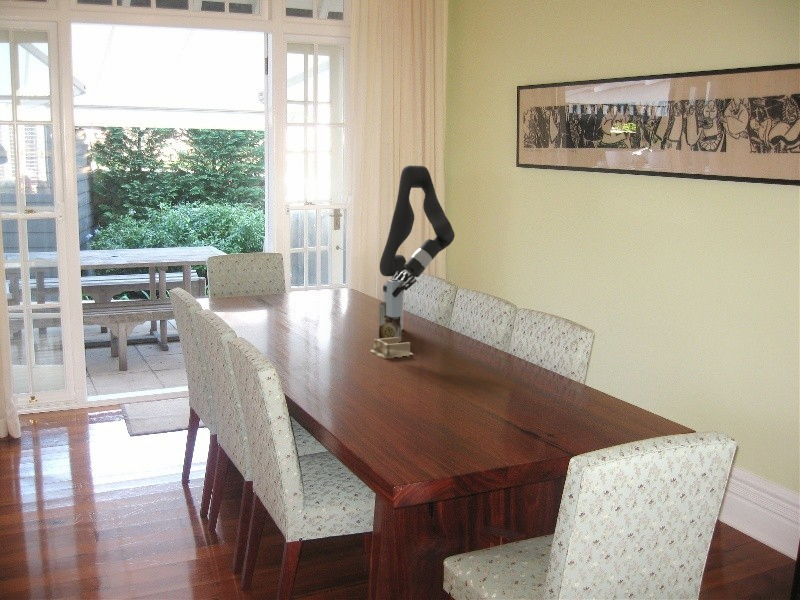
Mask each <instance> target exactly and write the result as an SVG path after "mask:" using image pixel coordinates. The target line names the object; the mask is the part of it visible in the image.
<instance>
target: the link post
mask: <svg viewBox="0 0 800 600" xmlns="http://www.w3.org/2000/svg"><path fill="white" fill-rule="evenodd" d="M391 279H392V278H391ZM391 279H387V280H386V283H387V299H386V315H387V316H389V317H402V291H401V292H400V293H399V295H398V296H397V297H394V296H393V295H392V293H393V292H394V290H395V289H396V288H397V287H398V286H399V284H400V283H401V281H400V280H398V279H392V280H391Z"/></svg>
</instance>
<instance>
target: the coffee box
mask: <svg viewBox="0 0 800 600" xmlns="http://www.w3.org/2000/svg"><path fill="white" fill-rule="evenodd" d="M378 309H379V310H378V316H379V317H378V321H379V322H378V339H382V338H393V337H399V342H400V343H401V341H402V330H401V320H402V317H389V316H387V315H386V302H383V301H380V303H379V307H378Z"/></svg>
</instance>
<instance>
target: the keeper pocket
mask: <svg viewBox="0 0 800 600" xmlns="http://www.w3.org/2000/svg"><path fill="white" fill-rule="evenodd" d="M372 340H373V344H372V345H373V347H372V349H369V353H371V352H372V354H373V353H374V354H373V355H374V356H377V357H379V358H381V359H383V360H386V359H387V358H389V359H395V358H394V357H398V358H403V357H402V356H407V357H410V356H409V355H413V356H414V353H413V352H411V342H409V341H407V342H400V343H399V337H393V338H382V339H379V338H373V339H372Z"/></svg>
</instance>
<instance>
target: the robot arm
mask: <svg viewBox="0 0 800 600" xmlns="http://www.w3.org/2000/svg"><path fill="white" fill-rule="evenodd" d="M399 178H400V180H399V186H398V193H397V199H396V203H395V208H394V212H393V214H392V218H391V222H390V228H389V233H388V236H387V240H386V243H385V246H384V250H383V251H382V255H381V258H380V261H379V272H380V274H381V275H382V276H383V277H391V279H390V280H392V279H398V280H400V281H401V283H400V284H399V286H398V287H397V288H396V289H395V290H394V292H393V293H392V295H393V296H394V297H397V296H398V295H399V293H400V292H401V291H402V320H401V331H402V330H403V329H404V327H403V325H404V324H403V322H404V300H405V299H404V297H405V295H404V294H405V291H407V290H408V289H409V288H411V287H412V286H413V285H415V283H417V279H416V278H419V277H420V276H421V275H422V273H424V272H425V270H426V269H427V268H428V267H429V266H430V264H431V262H432V261H433V260H434V259H435V258H436V256H437V255H438V254H439V253H440V252H442V251H443V250H445V249H446V248H447V247H449V246H450V245H451V243H453V241H454V240H455V236H456V234H455V231H454V229H453V227H452V224H451V222H450V221H449V219H448V217H447V216H446V213H445V211H444V209H443V207H442V205H441V204H440V201H439V199H438V196H437V194H436V189H435V187H434V182H433V180H432V177H431V173H430V171H429V169H428V168H427V167H426V166H424V165H405V166H404V167H403V168H402V170H401V175H400V177H399ZM412 189H421V191H422V190H423V192H424V199H423V203H422V205H423V206H422V207H423V211H424V214H425V216H426V217H427V220H428V222H429V224H431V227H432V229H433V231H434V233H435V238H433V239H432V238H431V239H430V238H428V239H426V240H425V241H424V242H423V243H422V244H421V246H420V247H419V248H418V249H416V251H414V253H412V254H411V256H410V257H409V258H408V260H406V257H405V256H404V255H402V254H397V252H398V250H399V248H400V247H401V245H402V244H403V243H404V242H405V241H406V240H407V239H408V237H409V236H410V234H411V233H412V231H413V226H414V222H415V212H414V209H413V207H412V203H411V200H410V194H411V190H412ZM386 299H387V282H386V283H384V284H383V285H382V302H386Z"/></svg>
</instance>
